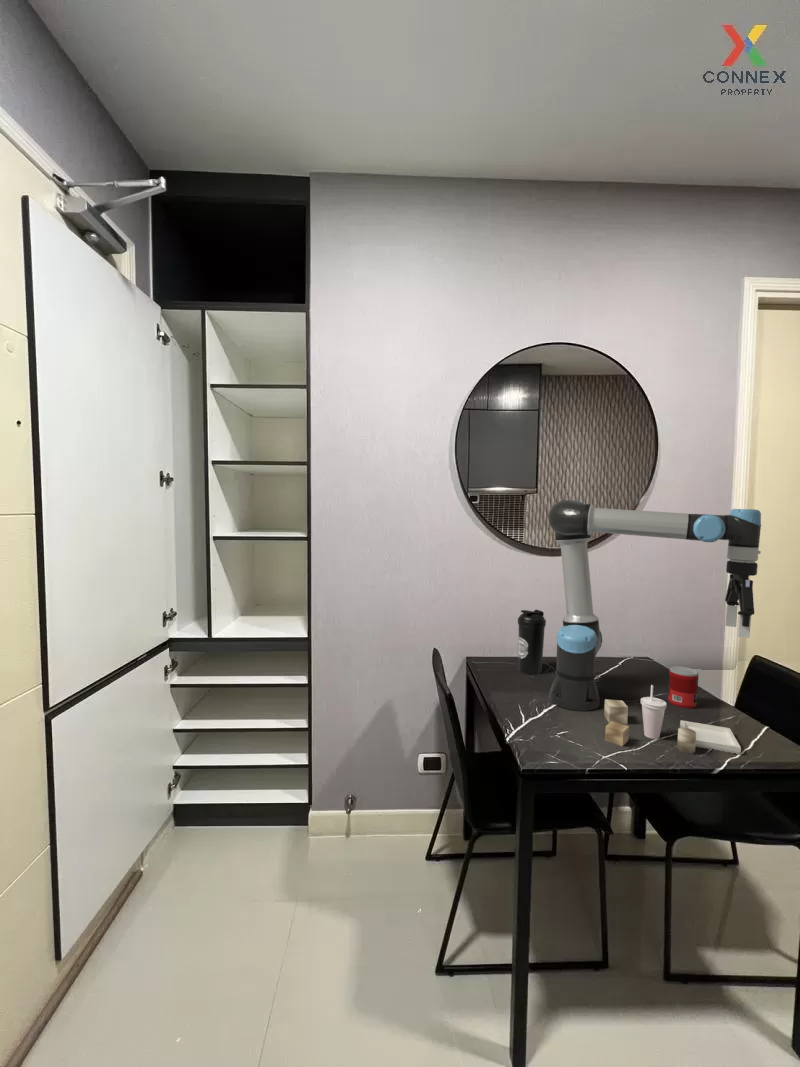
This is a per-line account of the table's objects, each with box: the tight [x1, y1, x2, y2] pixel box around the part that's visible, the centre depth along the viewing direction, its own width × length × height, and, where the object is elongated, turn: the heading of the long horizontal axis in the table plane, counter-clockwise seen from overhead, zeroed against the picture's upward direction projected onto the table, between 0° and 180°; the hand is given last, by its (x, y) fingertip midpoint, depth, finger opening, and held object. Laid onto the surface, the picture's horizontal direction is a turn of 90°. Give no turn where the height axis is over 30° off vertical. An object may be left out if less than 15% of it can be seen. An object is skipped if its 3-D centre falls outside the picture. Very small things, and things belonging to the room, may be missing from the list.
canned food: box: [667, 665, 699, 709], centre depth 157 cm, size 8×8×11 cm
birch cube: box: [603, 698, 629, 725], centre depth 144 cm, size 5×5×5 cm
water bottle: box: [517, 609, 547, 676], centre depth 185 cm, size 10×10×23 cm
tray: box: [679, 719, 742, 755], centre depth 133 cm, size 12×12×2 cm
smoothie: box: [640, 684, 668, 740], centre depth 134 cm, size 6×6×14 cm
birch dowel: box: [676, 727, 696, 755], centre depth 127 cm, size 4×4×5 cm
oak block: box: [604, 721, 630, 747], centre depth 131 cm, size 4×4×4 cm
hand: (736, 631), depth 147 cm, fingers open, 13 cm apart
